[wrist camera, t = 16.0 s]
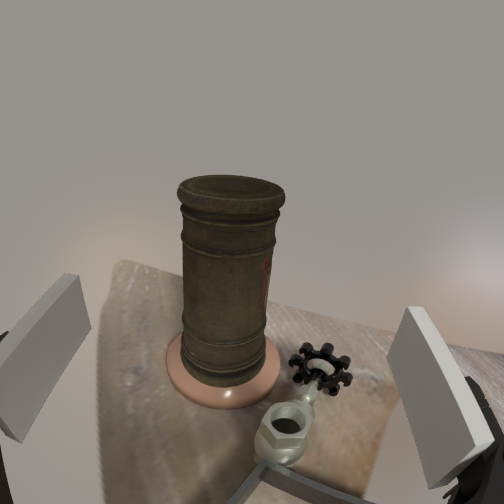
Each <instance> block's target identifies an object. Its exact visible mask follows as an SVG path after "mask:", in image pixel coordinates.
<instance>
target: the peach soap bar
mask: <svg viewBox="0 0 504 504" xmlns="http://www.w3.org/2000/svg"><path fill="white" fill-rule="evenodd" d="M182 333H183V332H182ZM182 333H180V334H179V335H178V336H177V337H176V338H175V339H174V340H173V341H172V343H171V344H170V346H169V349H168V352H167V367H168V374H169V377H170V380H171V382H172V384H173V385H174V387H175V388H176V389H177V390H178V391H179V392H180V393H181V394H182V395H183V396H184V397H186V398H187V399H189V400H190V401H192V402H194V403H197V404H199V405H202V406H205V407H209V408H214V409H237V408H242V407H246V406H249V405H252V404H254V403H256V402H258V401H260V400H261V399H263V398H264V397H265V396H267V395H268V394H269V393H270V392H271V390H272V389H273V388H274V386H275V384H276V382H277V379H278V374H279V370H280V355H279V352H278V350H277V348H276V346H275V345H274V344H273V342H272V341H271V340H270V339H269V338H268V337H266V336H265V338H266V349H265V350H266V359H265V363H264V365H263V367H262V369H261V370H260V372H259V373H258V374H257V375H256V376H255V377H254V378H253V379H251V380H250V381H248V382H246V383H244V384H241V385H239V386H234V387H227V388H219V387H212V386H208V385H205V384H203V383H201V382H199V381H198V380H196V379H195V378H193V377H192V376H191V375H190V374H189V373H188V372H187V370H186V369H185V367H184V365H183V363H182V360H181V356H180V349H181V336H182Z"/></svg>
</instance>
